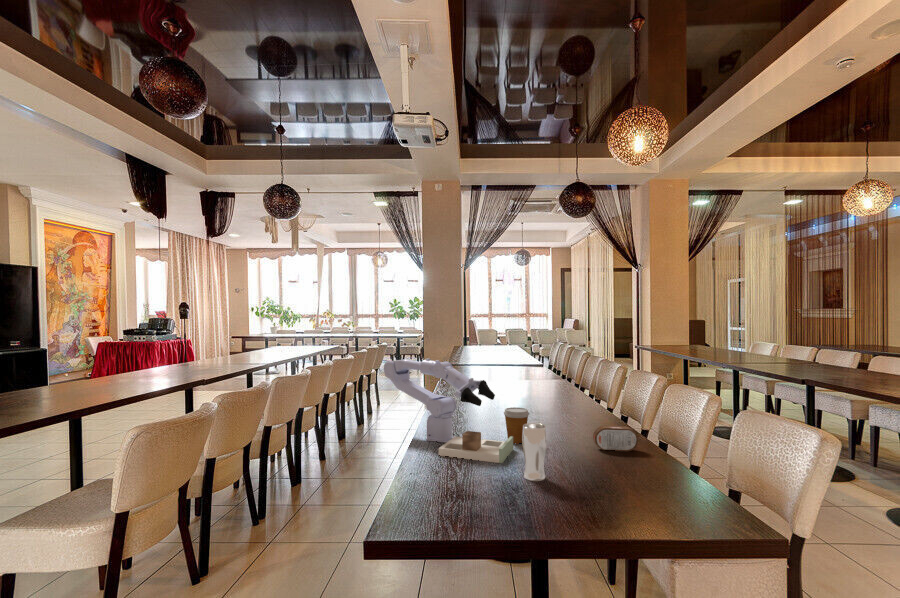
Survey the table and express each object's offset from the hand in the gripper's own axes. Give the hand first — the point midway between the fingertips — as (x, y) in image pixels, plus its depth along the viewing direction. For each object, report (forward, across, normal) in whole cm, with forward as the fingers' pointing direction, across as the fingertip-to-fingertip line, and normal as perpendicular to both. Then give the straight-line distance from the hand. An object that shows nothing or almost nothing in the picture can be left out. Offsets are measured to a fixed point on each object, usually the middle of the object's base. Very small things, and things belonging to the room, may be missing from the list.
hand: (487, 400), depth 160 cm
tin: (+40, +27, +6) cm, 48 cm away
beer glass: (+31, -15, +3) cm, 35 cm away
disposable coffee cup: (+10, +12, +17) cm, 23 cm away
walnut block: (+6, -11, +12) cm, 17 cm away
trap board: (+6, -8, +15) cm, 18 cm away
